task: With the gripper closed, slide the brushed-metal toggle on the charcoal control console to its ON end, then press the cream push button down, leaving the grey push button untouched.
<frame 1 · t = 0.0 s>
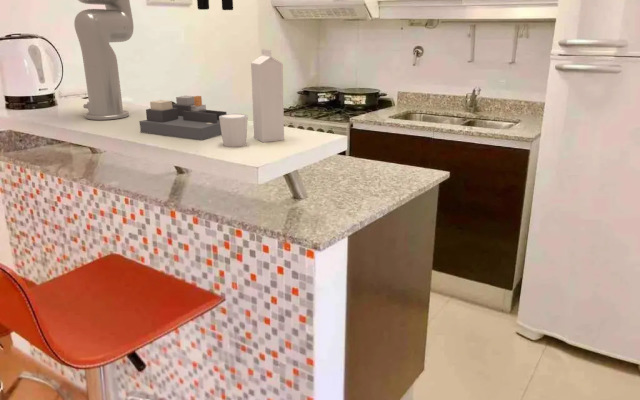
hand: (215, 9, 136), 31 cm above the countertop, fingers open, 9 cm apart
cream button: (161, 107, 144), point 6 cm above the countertop, slide at 0.0 cm
grey button: (186, 103, 152), point 6 cm above the countertop, slide at 0.0 cm
milk: (268, 139, 136), on the countertop
bread roll: (173, 115, 172), on the countertop
console: (194, 129, 147), on the countertop
toggle slider: (198, 107, 144), point 6 cm above the countertop, slide at 0.0 cm
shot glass: (234, 145, 130), on the countertop
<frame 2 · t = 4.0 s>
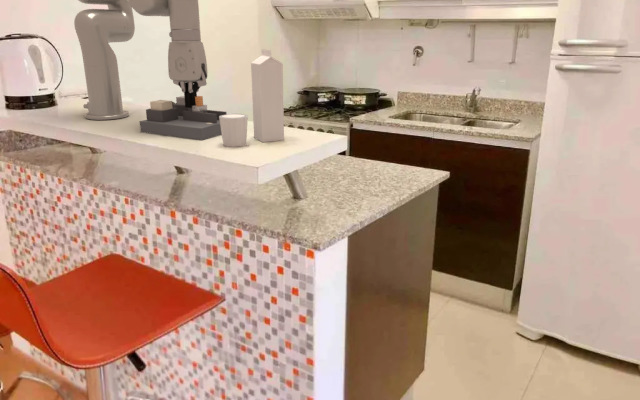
hand: (191, 106, 145), 6 cm above the countertop, fingers closed
toggle slider: (199, 107, 144), point 6 cm above the countertop, slide at 0.4 cm, touching gripper
everything else where it was.
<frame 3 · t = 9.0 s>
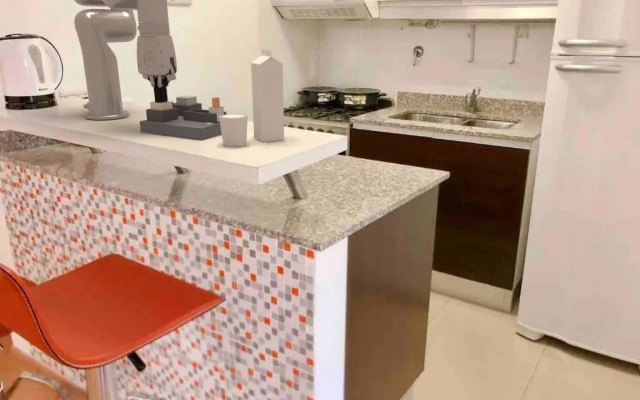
hand: (161, 101, 143), 8 cm above the countertop, fingers closed
cream button: (161, 108, 144), point 6 cm above the countertop, slide at 0.2 cm, touching gripper
toggle slider: (216, 109, 141), point 6 cm above the countertop, slide at 6.1 cm
everything else where it was.
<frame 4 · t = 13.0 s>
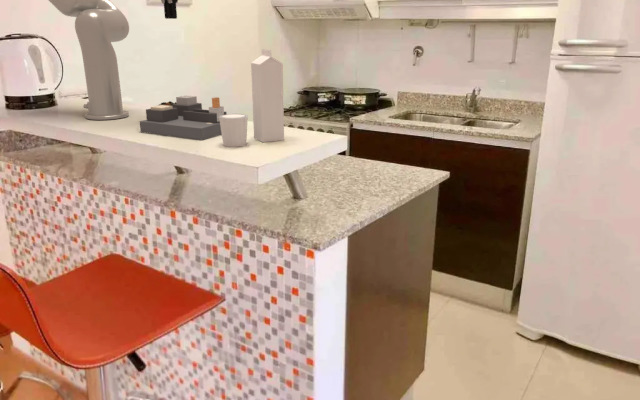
hand: (171, 18, 151), 29 cm above the countertop, fingers closed
cream button: (162, 112, 144), point 5 cm above the countertop, slide at 1.4 cm
everything else where it was.
at the end: toggle slider slide at 6.1 cm; cream button slide at 1.4 cm; grey button slide at 0.0 cm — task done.
